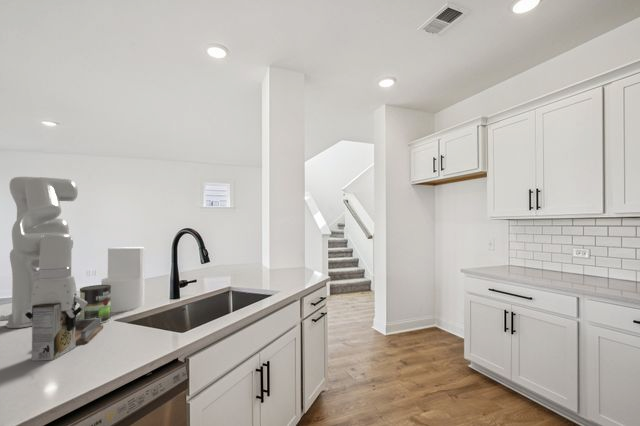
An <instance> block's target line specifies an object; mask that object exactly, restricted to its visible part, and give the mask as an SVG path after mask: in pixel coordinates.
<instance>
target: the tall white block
mask: <svg viewBox="0 0 640 426" xmlns="http://www.w3.org/2000/svg"><path fill="white" fill-rule="evenodd" d="M145 249H146V248H145V247H144V246H126V247H125V246H124V247H121V246H120V247H119V246H118V247H108V248H107V277H105V278H103V279H101V284H100V285H111V306H110V313H120V312H121V311H122V312H128V311H127V310H129V311H132V309H133V310H136V308H137V309H139V307H140V308H142V307H144V306H145V259H146V257H145V252H146V251H145ZM143 305H144V306H143ZM141 306H142V307H141Z"/></svg>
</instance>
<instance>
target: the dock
mask: <svg viewBox="0 0 640 426" xmlns="http://www.w3.org/2000/svg"><path fill="white" fill-rule="evenodd" d="M103 328H104V325H103V324H101V318H92V319H82V320H80V319H76V326H75V334H76V335H75V338H76V339H75V341H76V346H77V345H86V344H88V343H90V342H91V341H92V340H93V339H94V338H95V337H96V336H97V335H98V334H99V333H100V332H101V331H102V330H103Z"/></svg>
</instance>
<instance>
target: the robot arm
mask: <svg viewBox="0 0 640 426" xmlns="http://www.w3.org/2000/svg"><path fill="white" fill-rule="evenodd" d="M9 191H10V195H11V196H12V199H13V201H14V203H15V206H16V220H15V222H14V223H13V225H12V230H11V240H12V249H11V250H10V253H9V262H10V266H11V275H12V278H11V279H12V283H11V284H12V287H11V288H12V289H11V290H12V291H11V292H12V296H11V314H3V315H0V322H4V321H5V322H7V323H6V324H5V327H6V329H20V328H28V327H32V306H34V305H40V304H56V303H61V311H66V313H67V314H68V315H69V318H68V319H67V331H71V330H72V329H74V327H75V326H76V320H77V315H78V314H80V311H82V310H83V308H84V307H85V306H86V305H87V304H88V302H87V301H85V300H83V299H81V298H80V296H78V293H77V286H76V281H75V277H74V276H73V275H72V250H73V248H74V247H73V246H74V239H73V237H72V235H70V234H69V233H70V231H69V230H70V228H69V224H68V222H67V221H66V220H65V219H64V218H58V217H59V216H60V215H61V213H62V208H61V203H60V202H74V201H75V200H76V199H77V198H78V194H79V193H78V191H79V189H78V186H77V184H76V183H75V182H74V180H73V179H68V178H56V177H38V176H37V177H36V176H16V177H12V178H11V179H10V181H9ZM77 304H79V306H78V307H77V308H76V306H77ZM74 307H75V308H74Z"/></svg>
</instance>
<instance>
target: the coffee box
mask: <svg viewBox="0 0 640 426" xmlns="http://www.w3.org/2000/svg"><path fill="white" fill-rule="evenodd" d="M74 308H75V309H76V306H75V307H74ZM68 318H69V315H68V314H67V313H66V311H61V303H56V304H40V305H34V306H32V326H31V361H32V362H35V361H54V360H56V359H57V358H60V357H61V356H63V355H65V354H66V353H68V352H69V351H71V350H73V349H75V348H76V346H77V345H76V341H75V339H76V338H75V335H76V334H75V327H74V329H72V330H71V331H67V319H68Z"/></svg>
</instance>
